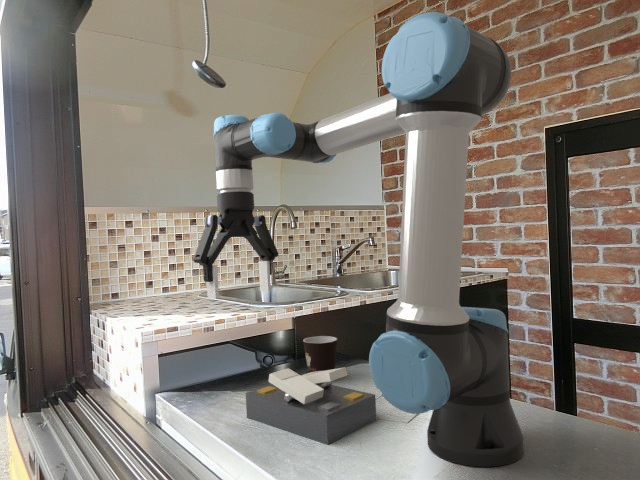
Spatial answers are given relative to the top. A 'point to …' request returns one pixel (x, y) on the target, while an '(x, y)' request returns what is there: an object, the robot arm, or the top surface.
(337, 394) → the switch unit
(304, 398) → the rocker left
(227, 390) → the top surface
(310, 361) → the coffee mug
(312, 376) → the rocker right
